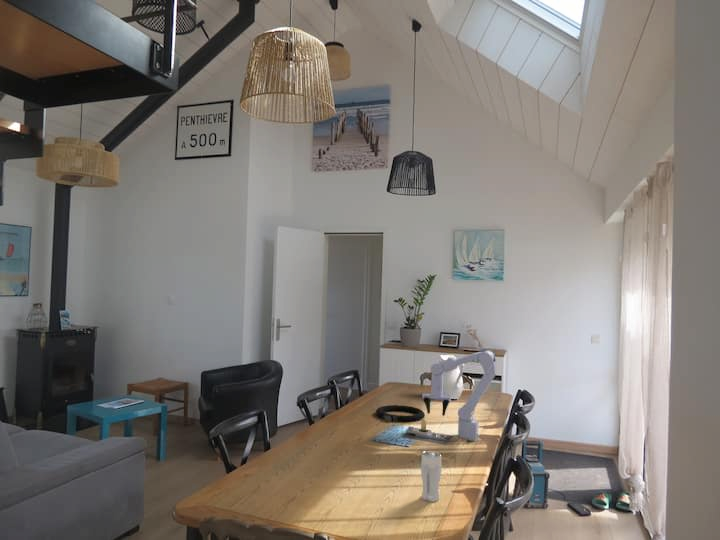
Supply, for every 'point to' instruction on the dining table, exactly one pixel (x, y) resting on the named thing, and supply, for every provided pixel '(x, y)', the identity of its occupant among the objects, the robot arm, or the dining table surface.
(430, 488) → the beer glass
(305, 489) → the dining table surface
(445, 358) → the pitcher
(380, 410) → the cable lock
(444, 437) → the grey metal plate
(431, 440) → the dark grey backing panel
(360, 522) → the dining table surface
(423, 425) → the brass pin
